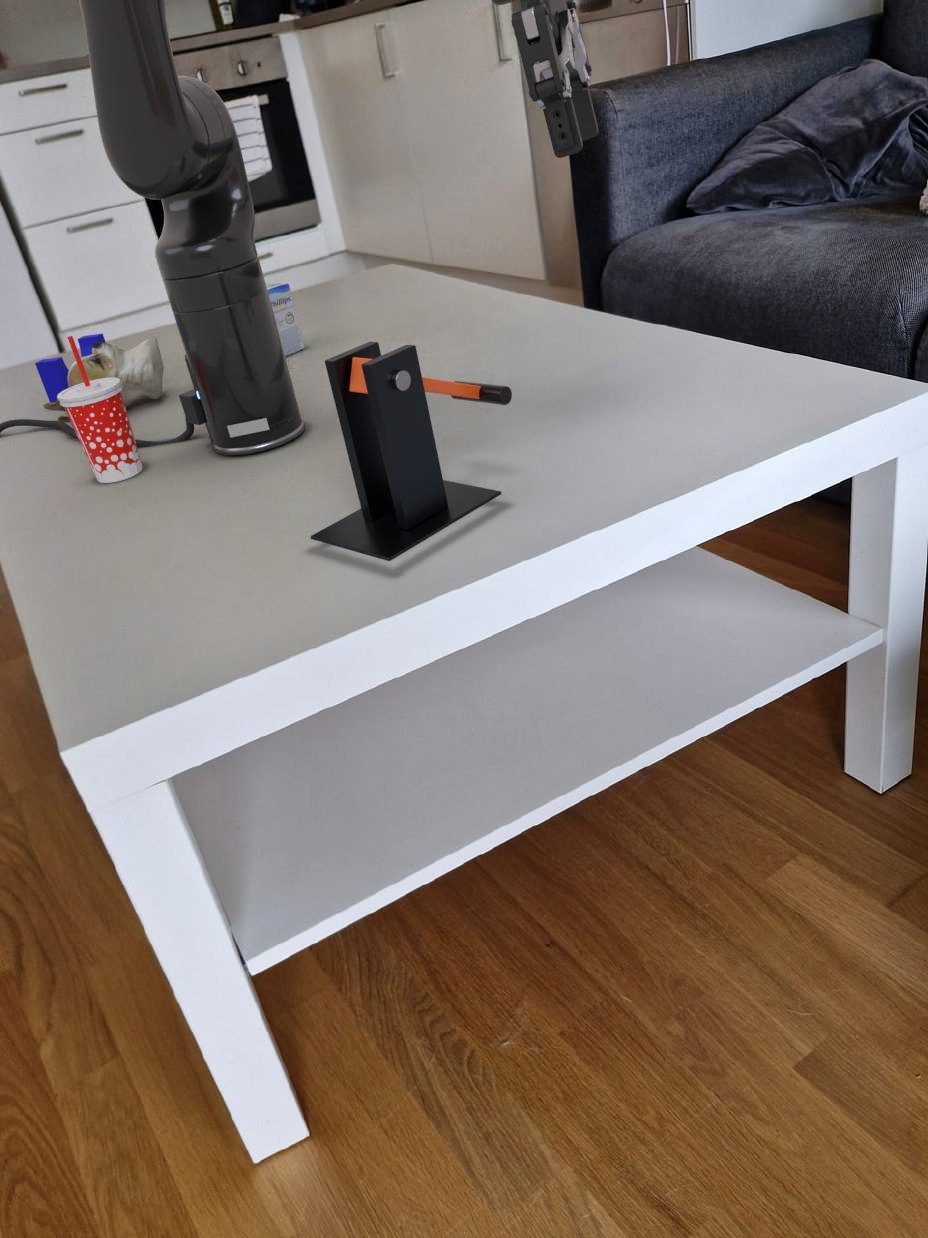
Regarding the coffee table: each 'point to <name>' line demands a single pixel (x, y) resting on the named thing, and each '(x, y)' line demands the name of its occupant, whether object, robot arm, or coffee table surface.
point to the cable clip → (62, 368)
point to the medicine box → (285, 318)
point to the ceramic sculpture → (120, 371)
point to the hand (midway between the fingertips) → (578, 146)
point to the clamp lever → (442, 387)
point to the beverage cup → (102, 425)
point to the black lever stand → (392, 457)
